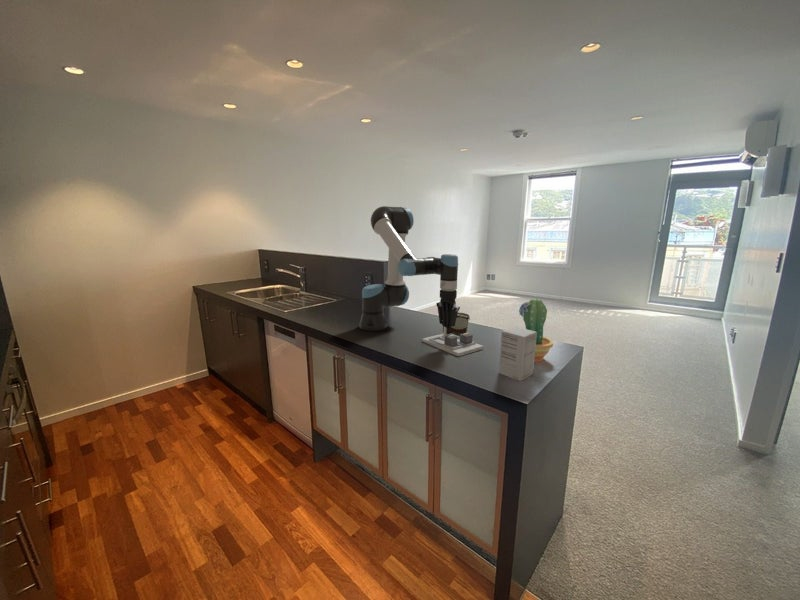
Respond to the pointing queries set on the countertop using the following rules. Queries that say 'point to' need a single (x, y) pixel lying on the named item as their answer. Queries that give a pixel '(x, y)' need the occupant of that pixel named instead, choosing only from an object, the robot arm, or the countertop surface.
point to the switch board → (456, 350)
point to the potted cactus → (536, 325)
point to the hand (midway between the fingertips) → (446, 340)
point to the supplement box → (517, 353)
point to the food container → (461, 323)
